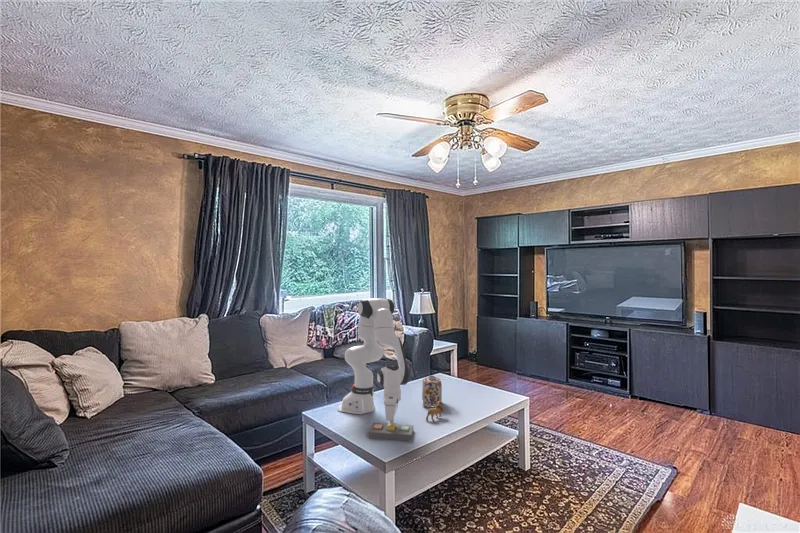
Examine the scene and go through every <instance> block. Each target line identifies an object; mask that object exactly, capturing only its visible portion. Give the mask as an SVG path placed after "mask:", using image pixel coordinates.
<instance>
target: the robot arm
mask: <svg viewBox="0 0 800 533" xmlns="http://www.w3.org/2000/svg"><path fill="white" fill-rule="evenodd" d="M395 308H396V307H395V302H394V301H393V300H392V299H389V298H379V297H378V298H364V299H360V300H359V302H358V304H357V312H358V315H359V316H360V317H359V321H358V328H357V336H358V338H359V339H360V340H362V341H363V344H362V345H355V346H351V347H349V348H347V349H346V350H345V352H344V360H345V362H346V363H347V365H349V366H351V368H352V370H353V373H354V383H353V384H352V386H351V391H350V392H349V393H347V394H346V395H345V396H344V397H343V399H342V401H341V403H340V404H339V406H338V407H337V411H338V412H339V413H340V412H341V413H348V414H354V415H364V414H366V413H367V414H368V413H371V412H373V411H375V409H376V406H375V400H374V392H375V387H374V374H373V372H372V370H371V369H369V368H368V367H367V364H368V363H374V362H375V363H376V362H377V361H380V360H381V359H382V358H383V356H384V349H383V347H382V346H381V345H383V346H386V347H389V348H391V349H393V350H394V352H395V355H396V360H397V364H396V363H388V364H386V365H385V367H384V366H383V367H381V368H379V369H378V370H377V371H376V382H377V384H378V385H380V386H382V387H383V388H384V389H383V405H384V413H385V420H386V421H388V422H389V423H390V424H393V423H395V416H396V413H397V411H398V407H399V403H400V401H401V400H402V395H401V394H402V390H401V386H405V385H407V384H408V383H409V382H410V381H411V372H410V369H409V366H408V362H407V359H406V354H405V350H404V346H403V343H402V340H401V337H399V336H398V335H397V333H396V332H395V327H394V320H393V314H394V312H395ZM380 344H381V345H380Z"/></svg>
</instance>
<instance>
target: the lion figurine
mask: <svg viewBox="0 0 800 533" xmlns="http://www.w3.org/2000/svg"><path fill="white" fill-rule="evenodd" d="M443 410H444V403H443V401H438V402H437V405H436V407H430V408H429V409H428V410H427V415H426V417H425V421H426V420H427V421H426V423H428V422H429V417H430V416H431V420H432V421H433V420H434V417H435V416H437V417H441V418H442V412H443ZM438 414H439V415H438Z"/></svg>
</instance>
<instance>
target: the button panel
mask: <svg viewBox="0 0 800 533" xmlns="http://www.w3.org/2000/svg"><path fill="white" fill-rule="evenodd" d="M375 424H380V425H383V429H382V430H377V429H374V426H375ZM387 425H388V423H387V422H386V423H383V422H372V423H371V426H370V427H369V430H368V436H367V438H368V439H378V440H379V439H380V440H393V441H394V440H395V441H407V440H411V441H412V439H413V435H414V425H413V424H403V423H401V424H399V423H398V424H397V423H396V430H395V431H392V430H387ZM401 426H409V432H407V431H401Z"/></svg>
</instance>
